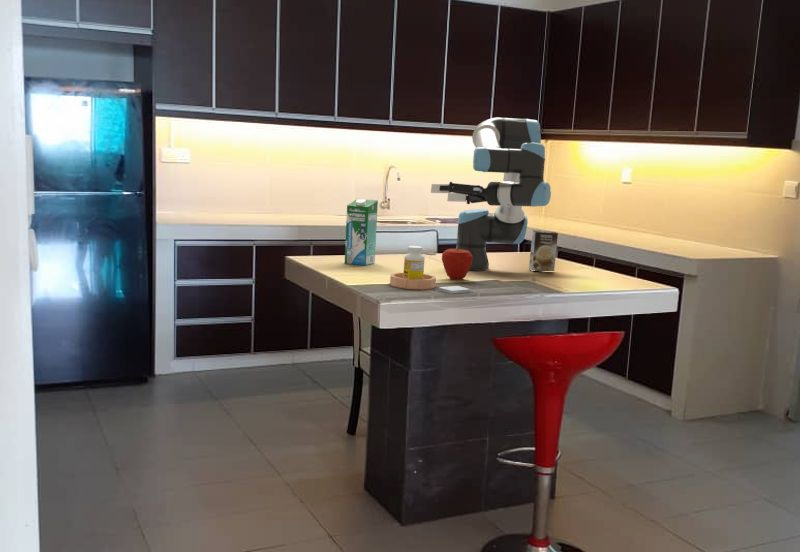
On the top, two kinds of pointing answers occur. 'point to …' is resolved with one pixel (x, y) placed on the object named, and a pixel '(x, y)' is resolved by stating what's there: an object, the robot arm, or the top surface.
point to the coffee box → (543, 251)
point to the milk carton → (361, 232)
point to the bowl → (413, 282)
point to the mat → (451, 294)
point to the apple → (457, 263)
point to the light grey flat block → (454, 289)
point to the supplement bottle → (414, 263)
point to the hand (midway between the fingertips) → (439, 192)
